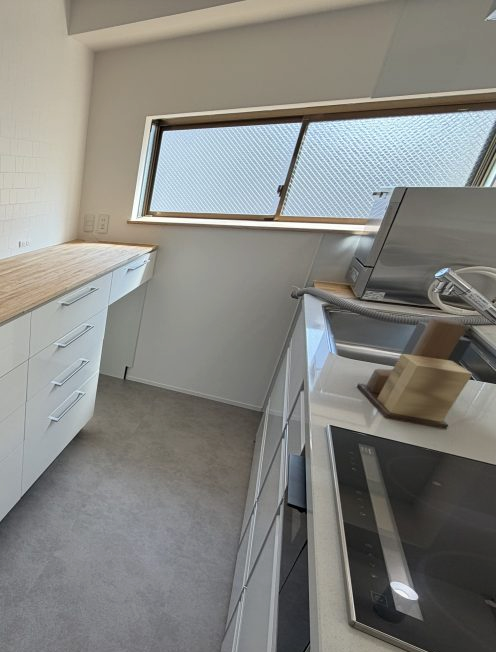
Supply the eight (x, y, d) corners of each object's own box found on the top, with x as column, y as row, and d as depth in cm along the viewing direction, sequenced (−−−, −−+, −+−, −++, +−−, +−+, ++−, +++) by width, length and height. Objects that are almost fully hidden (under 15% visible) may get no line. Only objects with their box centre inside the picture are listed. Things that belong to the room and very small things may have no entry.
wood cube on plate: (408, 395, 97) (435, 348, 91) (446, 429, 83) (481, 376, 78) (356, 386, 100) (380, 340, 94) (385, 417, 87) (414, 366, 81)
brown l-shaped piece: (370, 392, 95) (410, 317, 87) (365, 385, 98) (403, 312, 90) (422, 403, 91) (468, 325, 83) (415, 395, 95) (459, 320, 87)
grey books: (418, 381, 104) (451, 325, 97) (437, 396, 97) (474, 336, 90) (388, 376, 106) (418, 321, 99) (404, 391, 99) (438, 332, 92)
